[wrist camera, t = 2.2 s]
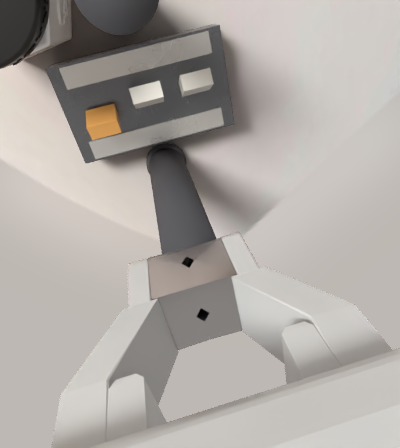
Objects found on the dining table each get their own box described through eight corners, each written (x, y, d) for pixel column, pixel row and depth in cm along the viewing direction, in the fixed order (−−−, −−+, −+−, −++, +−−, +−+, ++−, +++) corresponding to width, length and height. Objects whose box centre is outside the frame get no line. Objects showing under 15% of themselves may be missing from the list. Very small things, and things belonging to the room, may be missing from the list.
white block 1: (159, 87, 28) (159, 80, 25) (163, 101, 28) (163, 96, 26) (131, 94, 27) (128, 88, 25) (136, 108, 28) (133, 104, 25)
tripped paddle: (114, 103, 27) (116, 120, 26) (118, 115, 28) (121, 132, 27) (85, 110, 27) (86, 127, 26) (91, 123, 28) (92, 140, 27)
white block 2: (206, 75, 28) (209, 67, 25) (209, 89, 28) (213, 83, 26) (178, 82, 28) (179, 75, 25) (182, 96, 28) (183, 91, 26)
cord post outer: (180, 138, 33) (215, 217, 20) (188, 174, 36) (226, 266, 22) (141, 148, 33) (151, 235, 20) (152, 184, 35) (168, 283, 22)
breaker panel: (211, 24, 29) (220, 24, 26) (226, 116, 33) (234, 124, 30) (52, 64, 28) (44, 68, 25) (89, 152, 32) (85, 164, 30)
